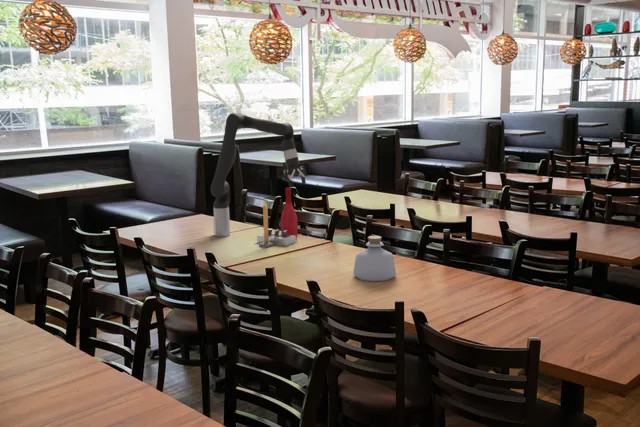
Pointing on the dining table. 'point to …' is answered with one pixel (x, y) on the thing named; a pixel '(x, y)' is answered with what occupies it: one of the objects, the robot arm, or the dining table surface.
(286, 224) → the wine bottle
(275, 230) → the middle paddle
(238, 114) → the robot arm
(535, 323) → the dining table surface
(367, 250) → the bottle
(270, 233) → the paddle
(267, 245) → the orange post
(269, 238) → the breaker panel
